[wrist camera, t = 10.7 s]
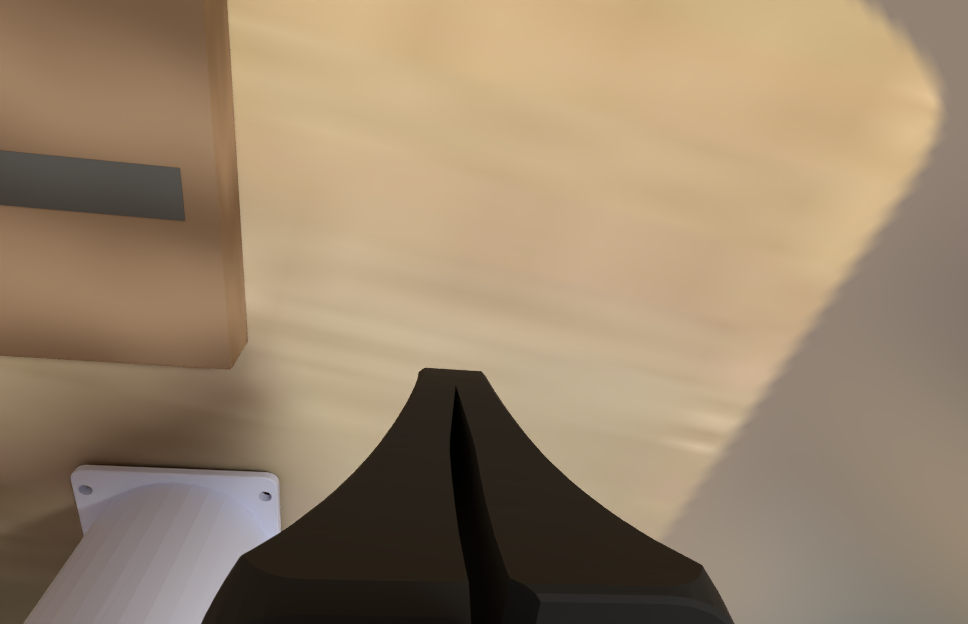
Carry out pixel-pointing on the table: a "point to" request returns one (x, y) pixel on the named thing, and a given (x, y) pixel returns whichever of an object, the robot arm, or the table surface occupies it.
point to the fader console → (119, 183)
